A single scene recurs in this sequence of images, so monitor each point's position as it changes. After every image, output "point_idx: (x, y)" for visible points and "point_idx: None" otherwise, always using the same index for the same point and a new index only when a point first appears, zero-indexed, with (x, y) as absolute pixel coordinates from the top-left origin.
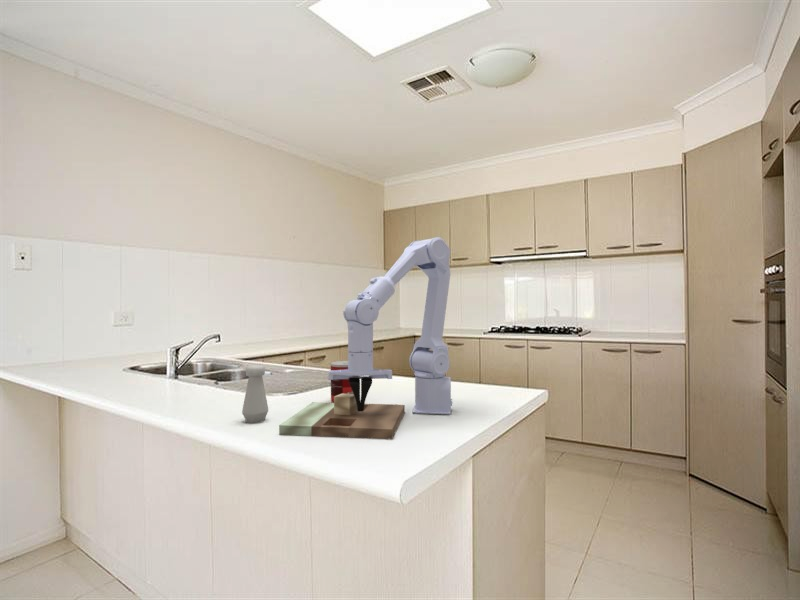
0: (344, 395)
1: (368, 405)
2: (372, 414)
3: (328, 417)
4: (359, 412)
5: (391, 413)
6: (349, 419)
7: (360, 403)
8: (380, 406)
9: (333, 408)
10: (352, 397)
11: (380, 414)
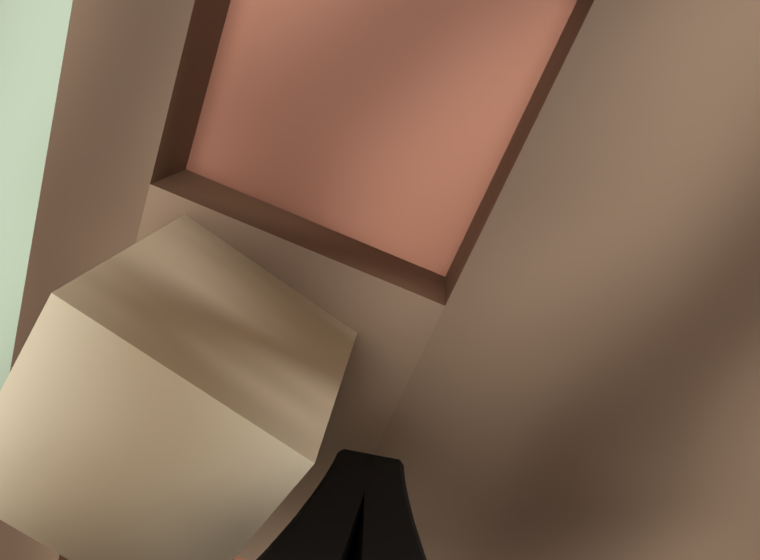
0: (100, 468)
1: (582, 37)
2: (494, 495)
3: None
4: (374, 381)
5: (709, 519)
6: (250, 554)
7: (357, 532)
8: (735, 157)
9: (69, 101)
10: (229, 556)
11: (577, 518)
